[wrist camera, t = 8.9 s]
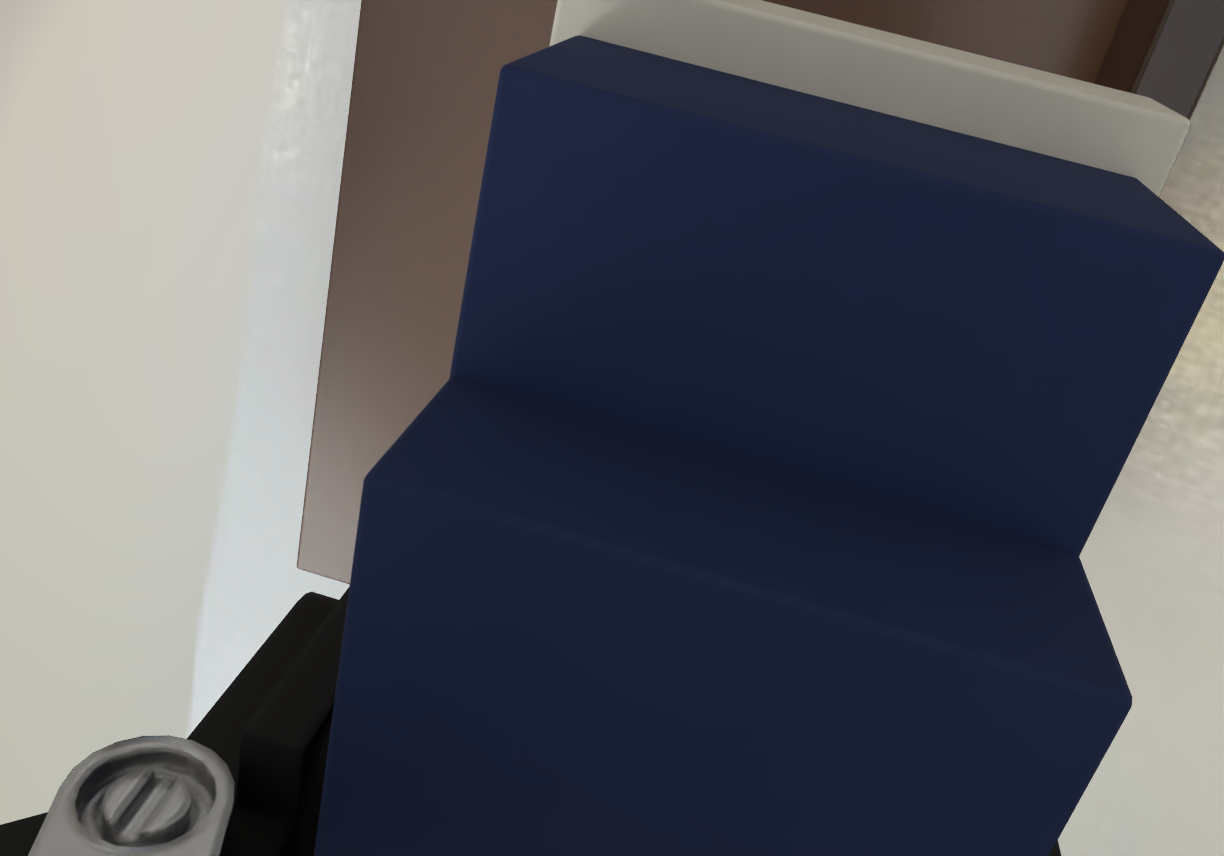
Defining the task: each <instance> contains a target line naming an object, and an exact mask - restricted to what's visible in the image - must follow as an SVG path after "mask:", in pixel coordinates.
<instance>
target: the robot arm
mask: <svg viewBox="0 0 1224 856" xmlns="http://www.w3.org/2000/svg"><path fill="white" fill-rule="evenodd" d="M348 595H349V588H348V589H347V591H346V592H345V593H344V595H343V596H342V597H341V599H340V600H337V599H334V598H331V597H327V596H324V595H321V594H317V593H314V592H309V593H306V594H305V595H304V596H303V597H302V598H301V599H300V600H299V601H298V602H297V603H296V604H295V605H294V607H293V608H292V609H291V610H290V612H289V613H288V614H287V615H286V617H285V618H284V619H283V620H282V621H281V623H280V624H279V625H278V626H277V628H276V629H275V630H274V631H273V633H272V634H271V635H270V636H269V638H268V639H267V640H266V641H265V643H264V644H263V645H262V646H261V648H260V649H259V650H258V651H257V652H256V654H255V655H254V656H253V657H252V659H251V660H250V661H249V662H248V664H247V665H246V666H245V667H244V669H243V670H242V671H241V672H240V674H239V675H238V676H237V677H236V679H235V680H234V681H233V682H232V684H231V685H230V686H229V687H228V688H227V690H226V691H225V692H224V693H223V695H222V696H221V697H220V698H219V700H218V701H217V702H216V703H215V705H214V706H213V707H212V708H211V710H210V711H209V712H208V713H207V715H206V716H205V717H204V718H203V719H202V721H201V722H200V723H199V724H198V726H197V727H196V728H195V729H194V731H193V732H192V733H191V734H190V736H189V737H188V738H187V739H183V738H178V737H174V736H142V737H137V738H132V739H128V740H123V741H119V742H116V743H113V744H112V745H109V746H107V747H105V748H103V749H100V750H98V751H96V752H94V753H92V754H91V755H90V756H88V757H87V758H86V759H84V760H83V761H82V762H81V763H79V764H78V765H77V766H75V767H74V768H73V769H72V771H71V772H70V773H69V775H68V776H67V778H66V779H65V780H64V782H63V783H62V785H61V786H60V788H59V790H58V792H57V794H56V796H55V798H54V801H53V803H52V805H51V807H50V809H49V811H48V812H47V813H43V814H40V815H36V816H32V817H29V818H25V819H21V820H17V821H14V822H10V823H6V824H2V825H0V856H314V851H315V843H316V836H317V828H318V821H319V813H320V805H321V798H322V790H323V783H324V775H325V768H326V760H327V753H328V745H329V738H330V730H331V723H332V715H333V708H334V700H335V692H336V685H337V677H338V670H339V662H340V655H341V647H342V640H343V632H344V625H345V617H346V610H347V602H348ZM1049 856H1061V853H1060V848H1059V844H1058V840H1057V841H1056V843H1055V845H1054V847H1053V849H1052V850H1051V852H1050V854H1049Z"/></svg>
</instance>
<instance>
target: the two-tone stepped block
mask: <svg viewBox="0 0 1224 856" xmlns="http://www.w3.org/2000/svg"><path fill="white" fill-rule="evenodd" d="M1189 129H1190V120H1188V119H1187V118H1186V117H1184V116H1182V115H1180V114H1178V113H1177V112H1175V111H1173V110H1171V109H1169V108H1168V107H1166V106H1164V105H1162V104H1160V103H1159V102H1157V101H1155V100H1153V99H1151V98H1149V97H1145V96H1141V95H1137V94H1133V93H1129V92H1125V91H1121V90H1117V89H1113V88H1109V87H1105V86H1101V85H1097V84H1093V83H1089V82H1085V81H1081V80H1077V79H1073V78H1069V77H1065V76H1061V75H1057V74H1053V73H1049V72H1045V71H1041V70H1037V69H1033V68H1029V67H1025V66H1021V65H1017V64H1013V63H1009V62H1005V61H1001V60H997V59H993V58H989V57H985V56H981V55H977V54H973V53H969V52H965V51H961V50H957V49H953V48H949V47H946V46H942V45H938V44H934V43H930V42H926V41H922V40H918V39H914V38H910V37H906V36H902V35H898V34H894V33H890V32H886V31H882V30H878V29H874V28H870V27H866V26H862V25H858V24H854V23H850V22H846V21H842V20H838V19H834V18H830V17H826V16H822V15H818V14H814V13H810V12H806V11H802V10H798V9H794V8H790V7H786V6H782V5H778V4H774V3H770V2H766V1H762V0H558V1H557V7H556V12H555V18H554V23H553V29H552V34H551V40H550V45H549V47H547V48H545V49H542V50H540V51H537V52H535V53H532V54H530V55H528V56H525V57H523V58H520V59H518V60H515V61H513V62H510V63H508V64H506V65H503V67H502V69H501V70H500V75H499V81H498V87H497V93H496V99H495V105H494V111H493V117H492V123H491V129H490V135H489V141H488V147H487V153H486V159H485V165H484V171H483V177H482V183H481V189H480V196H479V202H478V208H477V214H476V220H475V226H474V232H473V238H472V244H471V250H470V256H469V262H468V268H467V274H466V280H465V286H464V292H463V298H462V304H461V310H460V316H459V323H458V329H457V335H456V341H455V347H454V353H453V359H452V365H451V371H450V377H449V380H448V381H447V382H446V384H445V385H444V386H443V387H442V388H441V389H440V390H439V392H438V393H437V394H436V395H435V396H434V397H433V399H432V400H431V401H430V402H429V403H428V404H427V405H426V407H425V408H424V409H423V410H422V411H421V412H420V414H419V415H418V416H417V417H416V418H415V419H414V420H413V422H412V423H411V424H410V425H409V426H408V427H407V429H406V430H405V431H404V432H403V433H402V434H401V435H400V437H399V438H398V439H397V440H396V441H395V442H394V444H393V445H392V446H391V447H390V448H389V449H388V450H387V452H386V453H385V454H384V455H383V456H382V457H381V459H380V460H379V461H378V462H377V463H376V464H375V465H374V467H373V468H372V469H371V470H370V471H369V472H368V474H367V475H366V477H365V478H364V482H363V489H362V497H361V504H360V512H359V519H358V527H357V534H356V542H355V549H354V557H353V564H352V572H351V579H350V587H349V595H348V602H347V610H346V617H345V625H344V632H343V640H342V647H341V655H340V662H339V670H338V677H337V685H336V692H335V700H334V708H333V715H332V723H331V730H330V738H329V745H328V753H327V760H326V768H325V775H324V783H323V790H322V798H321V805H320V813H319V821H318V828H317V836H316V843H315V851H314V856H1049V854H1050V852H1051V850H1052V849H1053V847H1054V845H1055V843H1056V841H1057V840H1058V838H1059V836H1060V834H1061V832H1062V831H1063V829H1064V827H1065V825H1066V823H1067V822H1068V820H1069V818H1070V816H1071V814H1072V813H1073V811H1074V809H1075V807H1076V806H1077V804H1078V802H1079V800H1080V798H1081V797H1082V795H1083V793H1084V791H1085V789H1086V788H1087V786H1088V784H1089V782H1090V780H1091V779H1092V777H1093V775H1094V773H1095V771H1096V770H1097V768H1098V766H1099V764H1100V762H1101V761H1102V759H1103V757H1104V755H1105V753H1106V752H1107V750H1108V748H1109V746H1110V744H1111V743H1112V741H1113V739H1114V737H1115V735H1116V734H1117V732H1118V730H1119V728H1120V726H1121V725H1122V723H1123V721H1124V719H1125V717H1126V716H1127V714H1128V712H1129V710H1130V708H1131V705H1132V695H1131V693H1130V690H1129V688H1128V685H1127V682H1126V680H1125V677H1124V674H1123V672H1122V669H1121V666H1120V664H1119V661H1118V659H1117V656H1116V653H1115V651H1114V648H1113V645H1112V643H1111V640H1110V637H1109V635H1108V632H1107V629H1106V627H1105V624H1104V622H1103V619H1102V616H1101V614H1100V611H1099V608H1098V606H1097V603H1096V600H1095V598H1094V595H1093V592H1092V590H1091V587H1090V585H1089V582H1088V579H1087V577H1086V574H1085V571H1084V569H1083V566H1082V563H1081V561H1080V558H1079V555H1080V553H1081V551H1082V549H1083V547H1084V545H1085V543H1086V541H1087V539H1088V537H1089V535H1090V533H1091V531H1092V529H1093V527H1094V525H1095V523H1096V521H1097V519H1098V517H1099V515H1100V513H1101V510H1102V508H1103V506H1104V504H1105V502H1106V500H1107V498H1108V496H1109V494H1110V492H1111V490H1112V488H1113V486H1114V484H1115V482H1116V480H1117V478H1118V476H1119V474H1120V472H1121V470H1122V468H1123V466H1124V464H1125V461H1126V459H1127V457H1128V455H1129V453H1130V451H1131V449H1132V447H1133V445H1134V443H1135V441H1136V439H1137V437H1138V435H1139V433H1140V431H1141V429H1142V427H1143V425H1144V423H1145V421H1146V419H1147V417H1148V414H1149V412H1150V410H1151V408H1152V406H1153V404H1154V402H1155V400H1156V398H1157V396H1158V394H1159V392H1160V390H1161V388H1162V386H1163V384H1164V382H1165V380H1166V378H1167V376H1168V374H1169V372H1170V370H1171V367H1172V365H1173V363H1174V361H1175V359H1176V357H1177V355H1178V353H1179V351H1180V349H1181V347H1182V345H1183V343H1184V341H1185V339H1186V337H1187V335H1188V333H1189V331H1190V329H1191V327H1192V325H1193V323H1194V321H1195V318H1196V316H1197V314H1198V312H1199V310H1200V308H1201V306H1202V304H1203V302H1204V300H1205V298H1206V296H1207V294H1208V292H1209V290H1210V288H1211V286H1212V284H1213V282H1214V280H1215V278H1216V276H1217V274H1218V271H1219V269H1220V267H1221V265H1222V263H1223V261H1224V252H1223V251H1222V250H1220V249H1219V248H1218V247H1217V246H1216V245H1215V244H1213V243H1212V242H1211V241H1210V240H1209V239H1207V238H1206V237H1205V236H1204V235H1203V234H1202V233H1200V232H1199V231H1198V230H1197V229H1196V228H1194V227H1193V226H1192V225H1191V224H1190V223H1189V222H1187V221H1186V220H1185V219H1184V218H1183V217H1182V216H1180V215H1179V214H1178V213H1177V212H1176V211H1174V210H1173V209H1172V208H1171V207H1170V206H1169V205H1167V204H1166V203H1165V202H1164V201H1163V200H1161V199H1160V198H1159V195H1160V193H1161V191H1162V189H1163V187H1164V184H1165V182H1166V180H1167V178H1168V175H1169V173H1170V171H1171V169H1172V167H1173V164H1174V162H1175V160H1176V158H1177V155H1178V153H1179V151H1180V149H1181V146H1182V144H1183V142H1184V140H1185V138H1186V135H1187V133H1188V131H1189Z"/></svg>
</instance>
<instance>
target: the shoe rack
mask: <svg viewBox="0 0 1224 856" xmlns="http://www.w3.org/2000/svg"><path fill="white" fill-rule="evenodd" d="M557 1H558V0H362V2H361V11H360V19H359V28H358V37H357V46H356V54H355V63H354V72H353V81H352V89H351V98H350V107H349V115H348V124H347V133H346V142H345V150H344V159H343V168H342V176H341V185H340V194H339V203H338V211H337V220H336V229H335V237H334V246H333V255H332V264H331V272H330V281H329V290H328V298H327V307H326V316H325V325H324V333H323V342H322V351H321V360H320V368H319V377H318V386H317V394H316V403H315V412H314V421H313V429H312V438H311V447H310V455H309V464H308V473H307V482H306V490H305V499H304V508H303V516H302V525H301V534H300V543H299V551H298V560H297V568H299V569H302V570H305V571H308V572H311V573H315V574H318V575H321V576H324V577H328V578H331V579H334V580H337V581H341V582H344V583H347V584H350V579H351V572H352V564H353V557H354V549H355V542H356V534H357V527H358V519H359V512H360V504H361V497H362V489H363V482H364V478H365V477H366V475H367V474H368V472H369V471H370V470H371V469H372V468H373V467H374V465H375V464H376V463H377V462H378V461H379V460H380V459H381V457H382V456H383V455H384V454H385V453H386V452H387V450H388V449H389V448H390V447H391V446H392V445H393V444H394V442H395V441H396V440H397V439H398V438H399V437H400V435H401V434H402V433H403V432H404V431H405V430H406V429H407V427H408V426H409V425H410V424H411V423H412V422H413V420H414V419H415V418H416V417H417V416H418V415H419V414H420V412H421V411H422V410H423V409H424V408H425V407H426V405H427V404H428V403H429V402H430V401H431V400H432V399H433V397H434V396H435V395H436V394H437V393H438V392H439V390H440V389H441V388H442V387H443V386H444V385H445V384H446V382H447V381H448V380H449V377H450V371H451V365H452V359H453V353H454V347H455V341H456V335H457V329H458V323H459V316H460V310H461V304H462V298H463V292H464V286H465V280H466V274H467V268H468V262H469V256H470V250H471V244H472V238H473V232H474V226H475V220H476V214H477V208H478V202H479V196H480V189H481V183H482V177H483V171H484V165H485V159H486V153H487V147H488V141H489V135H490V129H491V123H492V117H493V111H494V105H495V99H496V93H497V87H498V81H499V75H500V70H501V69H502V67H503V65H506V64H508V63H510V62H513V61H515V60H518V59H520V58H523V57H525V56H528V55H530V54H532V53H535V52H537V51H540V50H542V49H545V48H547V47H549V45H550V40H551V34H552V29H553V23H554V18H555V12H556V7H557ZM762 1H766V2H770V3H774V4H778V5H782V6H786V7H790V8H794V9H798V10H802V11H806V12H810V13H814V14H818V15H822V16H826V17H830V18H834V19H838V20H842V21H846V22H850V23H854V24H858V25H862V26H866V27H870V28H874V29H878V30H882V31H886V32H890V33H894V34H898V35H902V36H906V37H910V38H914V39H918V40H922V41H926V42H930V43H934V44H938V45H942V46H946V47H949V48H953V49H957V50H961V51H965V52H969V53H973V54H977V55H981V56H985V57H989V58H993V59H997V60H1001V61H1005V62H1009V63H1013V64H1017V65H1021V66H1025V67H1029V68H1033V69H1037V70H1041V71H1045V72H1049V73H1053V74H1057V75H1061V76H1065V77H1069V78H1073V79H1077V80H1081V81H1085V82H1089V83H1093V84H1097V85H1101V86H1105V87H1109V88H1113V89H1117V90H1121V91H1125V92H1129V93H1133V94H1137V95H1141V96H1145V97H1149V98H1151V99H1153V100H1155V101H1157V102H1159V103H1160V104H1162V105H1164V106H1166V107H1168V108H1169V109H1171V110H1173V111H1175V112H1177V113H1178V114H1180V115H1182V116H1184V117H1186V118H1187V119H1188V120H1190V119H1191V117H1192V114H1193V112H1194V110H1195V108H1196V106H1197V103H1198V101H1199V99H1200V97H1201V95H1202V92H1203V90H1204V88H1205V86H1206V84H1207V81H1208V79H1209V77H1210V75H1211V73H1212V70H1213V68H1214V66H1215V64H1216V62H1217V59H1218V57H1219V55H1220V53H1221V51H1222V48H1223V46H1224V0H762Z"/></svg>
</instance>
